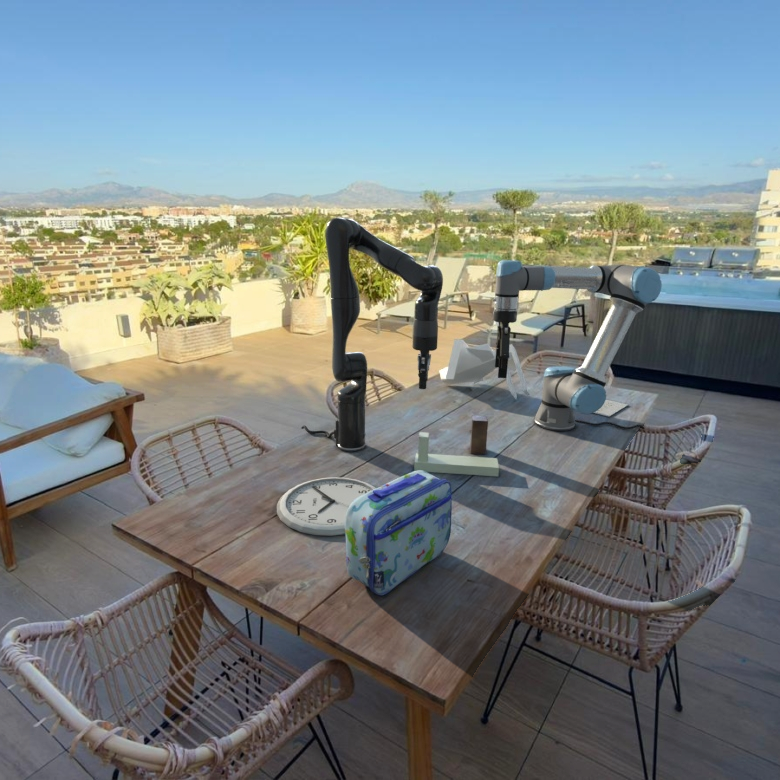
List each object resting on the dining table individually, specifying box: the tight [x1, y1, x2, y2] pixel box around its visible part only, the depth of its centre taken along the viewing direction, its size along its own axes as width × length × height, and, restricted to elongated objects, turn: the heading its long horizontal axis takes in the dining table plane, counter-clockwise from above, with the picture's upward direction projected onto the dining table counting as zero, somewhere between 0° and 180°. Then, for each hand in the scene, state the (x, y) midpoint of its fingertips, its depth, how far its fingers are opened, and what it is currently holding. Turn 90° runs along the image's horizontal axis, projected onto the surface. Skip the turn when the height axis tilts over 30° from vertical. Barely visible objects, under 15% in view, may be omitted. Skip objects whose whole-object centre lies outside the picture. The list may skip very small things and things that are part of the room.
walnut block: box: [469, 415, 489, 455], centre depth 177 cm, size 5×5×12 cm
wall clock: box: [276, 476, 377, 537], centre depth 142 cm, size 30×2×30 cm
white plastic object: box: [438, 311, 531, 400], centre depth 245 cm, size 37×45×31 cm
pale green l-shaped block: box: [413, 431, 500, 477], centre depth 164 cm, size 26×7×11 cm, turn 83°
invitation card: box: [592, 399, 629, 418], centre depth 226 cm, size 21×1×15 cm
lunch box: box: [344, 470, 453, 596], centre depth 114 cm, size 26×11×21 cm, turn 135°
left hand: (423, 384), depth 163 cm, fingers open, 8 cm apart
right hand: (500, 372), depth 176 cm, fingers open, 13 cm apart
